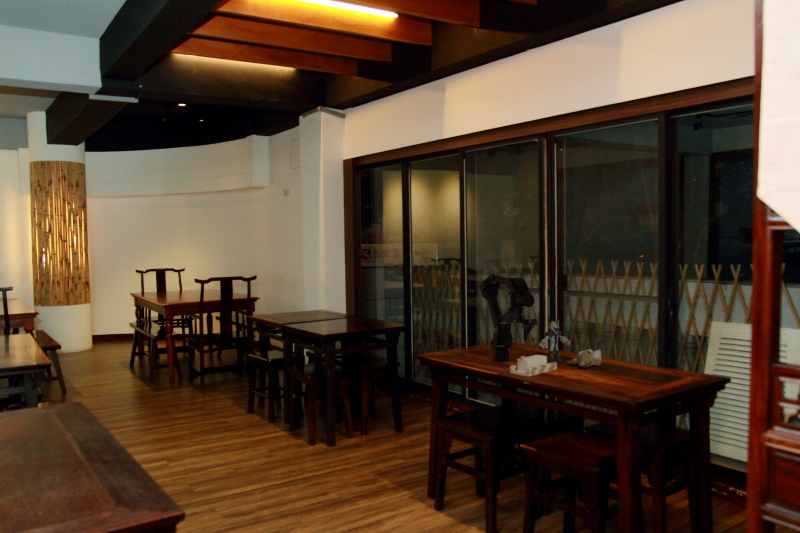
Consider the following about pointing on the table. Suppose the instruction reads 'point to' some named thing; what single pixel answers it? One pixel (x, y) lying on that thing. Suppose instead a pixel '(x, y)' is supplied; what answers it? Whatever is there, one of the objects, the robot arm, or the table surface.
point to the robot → (553, 342)
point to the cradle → (534, 369)
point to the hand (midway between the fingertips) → (516, 339)
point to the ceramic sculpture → (587, 358)
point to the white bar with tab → (531, 362)
